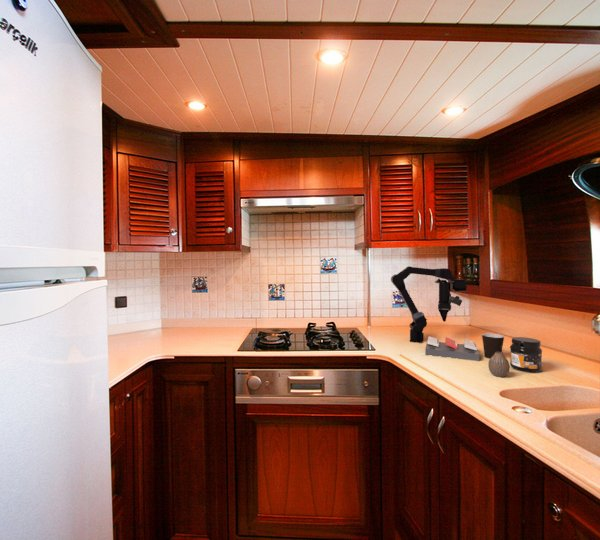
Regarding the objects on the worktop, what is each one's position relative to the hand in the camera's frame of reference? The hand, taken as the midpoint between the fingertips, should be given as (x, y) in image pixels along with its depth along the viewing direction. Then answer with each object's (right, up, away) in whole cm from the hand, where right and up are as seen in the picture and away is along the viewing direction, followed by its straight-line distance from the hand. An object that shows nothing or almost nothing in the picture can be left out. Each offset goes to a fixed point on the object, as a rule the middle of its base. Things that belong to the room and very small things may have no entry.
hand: (444, 320), depth 171 cm
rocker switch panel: (-6, -13, -21) cm, 25 cm away
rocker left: (-13, -8, -16) cm, 22 cm away
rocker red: (-6, -8, -19) cm, 22 cm away
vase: (-2, -13, -50) cm, 52 cm away
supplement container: (+13, -13, -43) cm, 47 cm away
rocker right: (+2, -8, -23) cm, 24 cm away
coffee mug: (+11, -13, -27) cm, 31 cm away
